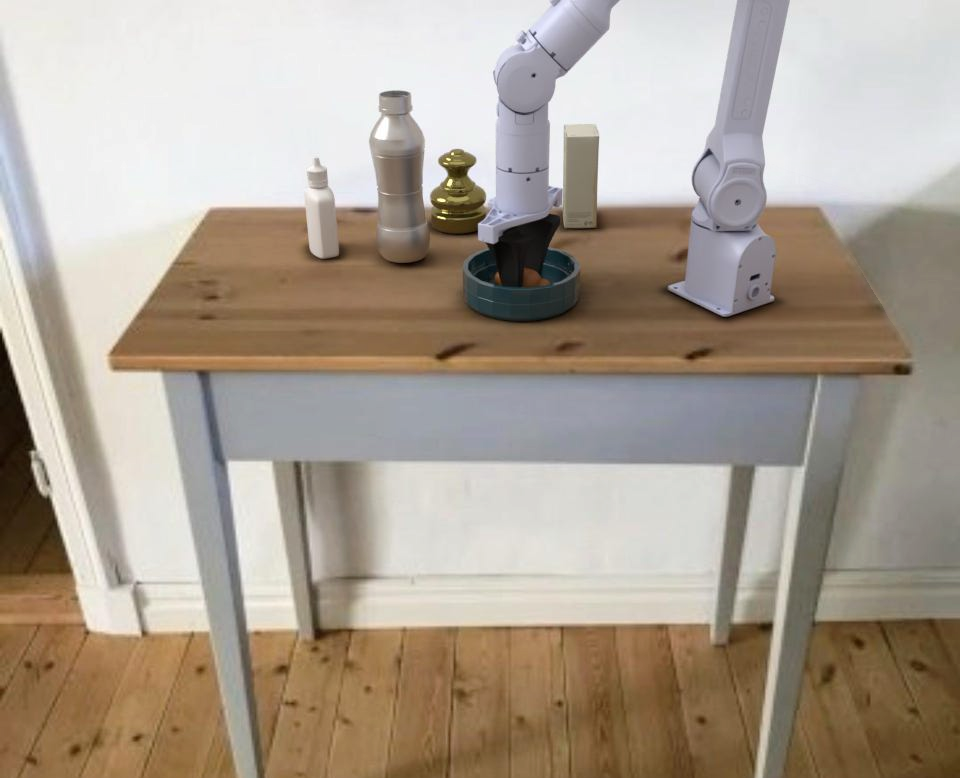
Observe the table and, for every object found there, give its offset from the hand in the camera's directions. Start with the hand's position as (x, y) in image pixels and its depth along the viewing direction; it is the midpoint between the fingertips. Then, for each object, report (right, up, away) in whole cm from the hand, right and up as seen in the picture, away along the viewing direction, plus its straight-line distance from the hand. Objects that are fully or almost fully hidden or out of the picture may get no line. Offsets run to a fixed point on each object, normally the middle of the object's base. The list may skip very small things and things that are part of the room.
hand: (521, 283), depth 122 cm
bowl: (0, -2, +1) cm, 2 cm away
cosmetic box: (+9, +12, +22) cm, 26 cm away
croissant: (0, -1, +1) cm, 1 cm away
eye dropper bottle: (-24, +6, +14) cm, 29 cm away
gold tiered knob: (-8, +11, +21) cm, 25 cm away
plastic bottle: (-14, +5, +11) cm, 19 cm away
